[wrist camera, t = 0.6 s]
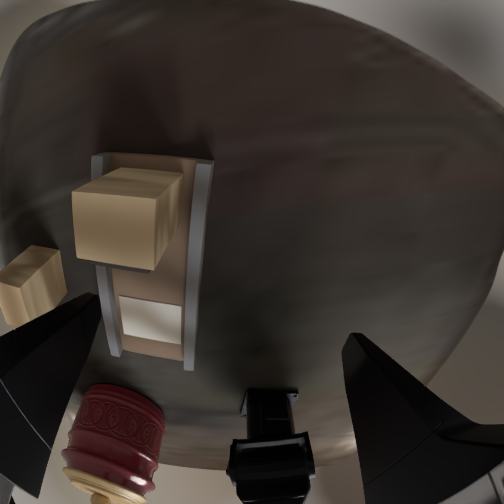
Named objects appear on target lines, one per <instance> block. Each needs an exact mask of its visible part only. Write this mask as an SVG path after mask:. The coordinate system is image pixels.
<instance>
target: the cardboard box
mask: <svg viewBox="0 0 504 504" xmlns="http://www.w3.org/2000/svg"><path fill="white" fill-rule="evenodd" d="M66 293H67V290H66V285H65V280H64V274H63V269H62V263H61V256H60V250H57V249H51V248H46V247H40V246H35V245H31V246H30V247H28V248H27V249H26V250H25V251H24V252H22V253H21V254H20V255H19V256H17V257H16V258H15V259H14V260H13V261H12V262H10V263H9V264H8V265H7V266H6V267H5V268H3V269H2V270H1V271H0V307H1V310H2V312H3V315H4V318H5V320H6V323H7V324H9V325H11V326H13V327H16V328H18V327H20V326H21V325H23V324H25V323H27V322H29V321H31V320H33V319H35V318H37V317H39V316H41V315H43V314H45V313H47V312H49V311H51V310H53V309H54V308H55V307H56V306H57V305H58V303H59V302H60V301H61V300H62V298H63V297H64V296H65V295H66Z"/></svg>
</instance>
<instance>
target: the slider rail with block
mask: <svg viewBox="0 0 504 504" xmlns="http://www.w3.org/2000/svg"><path fill="white" fill-rule="evenodd" d="M214 162H215V161H214V160H205V159H197V158H187V157H177V156H166V155H153V154H139V153H120V152H103V153H99V154H96V155H93V156H92V158H91V182H89V183H87V184H85V185H83V186H81V187H79V188H77V189H76V190H74V191H72V208H73V223H74V235H75V245H76V253H77V258H81V259H87V260H88V263H89V264H92V265H96V274H97V281H98V289H99V295H100V302H101V308H102V313H103V319H104V324H105V329H106V334H107V339H108V343H109V348H110V352H111V355H112V356H116V357H120V356H121V353H122V351H123V350H127V351H132V352H136V353H141V354H146V355H151V356H157V357H162V358H168V359H174V360H180V361H184V370H189V371H194V366H195V360H196V349H197V332H198V316H199V303H200V290H201V278H202V267H203V256H204V246H205V236H206V227H207V218H208V209H209V200H210V192H211V184H212V177H213V169H214Z"/></svg>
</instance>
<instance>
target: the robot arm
mask: <svg viewBox="0 0 504 504" xmlns="http://www.w3.org/2000/svg"><path fill="white" fill-rule="evenodd" d="M101 316H102V312H101V304H100V297H99V295H98V294H96V293H92V292H87V293H85V294H83V295H81V296H79V297H77V298H75V299H73V300H71V301H69V302H67V303H65V304H63V305H61V306H59V307H57V308H55V309H53V310H51V311H49V312H47V313H45V314H43V315H41V316H39V317H37V318H35V319H33V320H31V321H29V322H27V323H25V324H23V325H21V326H20V327H18V328H16V329H15V330H12V331H10V332H8V333H6V334H4V335H2V336H0V504H15V502H14V500H13V497H12V492H13V488H14V486H16V487H18V488H19V489H21V490H23V491H24V492H26V493H28V494H30V495H31V496H33V497H35V498H37V499H38V497H39V494H40V489H41V486H42V482H43V478H44V474H45V471H46V467H47V464H48V460H49V457H50V454H51V449H52V447H53V444H54V441H55V438H56V435H57V432H58V429H59V426H60V423H61V421H62V418H63V415H64V413H65V410H66V407H67V405H68V402H69V400H70V397H71V395H72V392H73V390H74V387H75V385H76V382H77V380H78V378H79V375H80V373H81V371H82V368H83V366H84V364H85V362H86V359H87V357H88V355H89V352H90V349H91V346H92V343H93V340H94V337H95V334H96V332H97V329H98V326H99V323H100V320H101ZM342 362H343V371H344V381H345V389H346V394H347V399H348V404H349V408H350V413H351V418H352V423H353V428H354V434H355V439H356V445H357V450H358V456H359V462H360V468H361V474H362V481H363V485H364V486H363V488H364V495H365V502H366V504H504V424H489V425H487V424H478V423H475V422H473V421H471V420H470V419H468V418H467V417H465V416H464V415H462V414H461V413H459V412H458V411H457V410H455V409H454V408H453V407H451V406H450V405H448V404H447V403H446V402H444V401H443V400H442V399H440V398H439V397H438V396H437V395H435V394H434V393H433V392H432V391H430V390H429V389H428V388H427V387H426V386H424V385H423V384H422V383H421V382H420V381H418V380H417V379H416V378H415V377H414V376H413V375H411V374H410V373H409V372H408V371H407V370H405V369H404V368H403V367H402V366H401V365H399V364H398V363H397V362H396V361H395V360H393V359H392V358H391V357H390V356H389V355H387V354H386V353H385V352H384V351H383V350H381V349H380V348H379V347H378V346H377V345H375V344H374V343H373V342H372V341H370V340H369V339H368V338H367V337H366V336H364V335H363V334H362V333H351V334H350V335H349V337H348V339H347V341H346V343H345V345H344V347H343V349H342ZM298 397H299V392H298V391H275V390H257V389H249V390H247V392H246V396H245V399H244V403H243V407H242V410H241V417H243V418H247V439H239V440H238V439H233V443H232V445H230V458H229V462H228V466H227V469H226V474H227V475H228V476H229V477H230V479H231V481H232V484H233V486H236V492H237V496H238V497H239V499H240V500H241V501H242V503H243V504H305V502H306V500H307V498H308V496H309V492H310V479H315V466H314V459H313V454H312V449H311V445H310V440H309V436H308V431H307V432H303V433H299V434H295V428H294V421H293V414H292V409H293V407H294V405H295V403H296V401H297V399H298Z"/></svg>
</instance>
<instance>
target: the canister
mask: <svg viewBox="0 0 504 504" xmlns="http://www.w3.org/2000/svg"><path fill="white" fill-rule="evenodd" d="M164 430H165V417H164V415H163V413H162V411H161V410H160V409H159V408H158V407H157V406H156V405H155V404H154V403H153V402H151V401H150V400H148V399H147V398H145V397H144V396H142V395H140V394H138V393H136V392H134V391H131V390H129V389H126V388H123V387H120V386H116V385H111V384H95V385H92V386H90V387H89V388H88V390H87V391H86V392H85V393H84V395H83V397H82V399H81V405H80V407H79V410H78V412H77V415H76V417H75V420H74V422H73V425H72V428H71V430H70V431H69V432H68V437H69V444H68V447H67V448H66V449H63V450H62V451H61V455H62V457H63V459H64V460H65V461H66V463H67V467H64V468H63V469H62V471H63V472H64V474H65V475H66V476H67V477H68V478H69V480H70V482H71V483H72V484H73V485H74V486H76V487H77V488H79V489H80V490H82V491H84V492H86V493H88V494H91V495H92V496H91V499H90V501H91V504H111V502H112V503H116V504H141V503H145V502H146V501H147V499H146V498H145V497H144V494H145V493H146V492H150V491H152V490H154V489H155V484H154V483H153V482H152V478H153V474H154V472H155V471H156V470H157V469H158V458H159V452H160V446H161V441H162V436H163V435H164Z"/></svg>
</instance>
